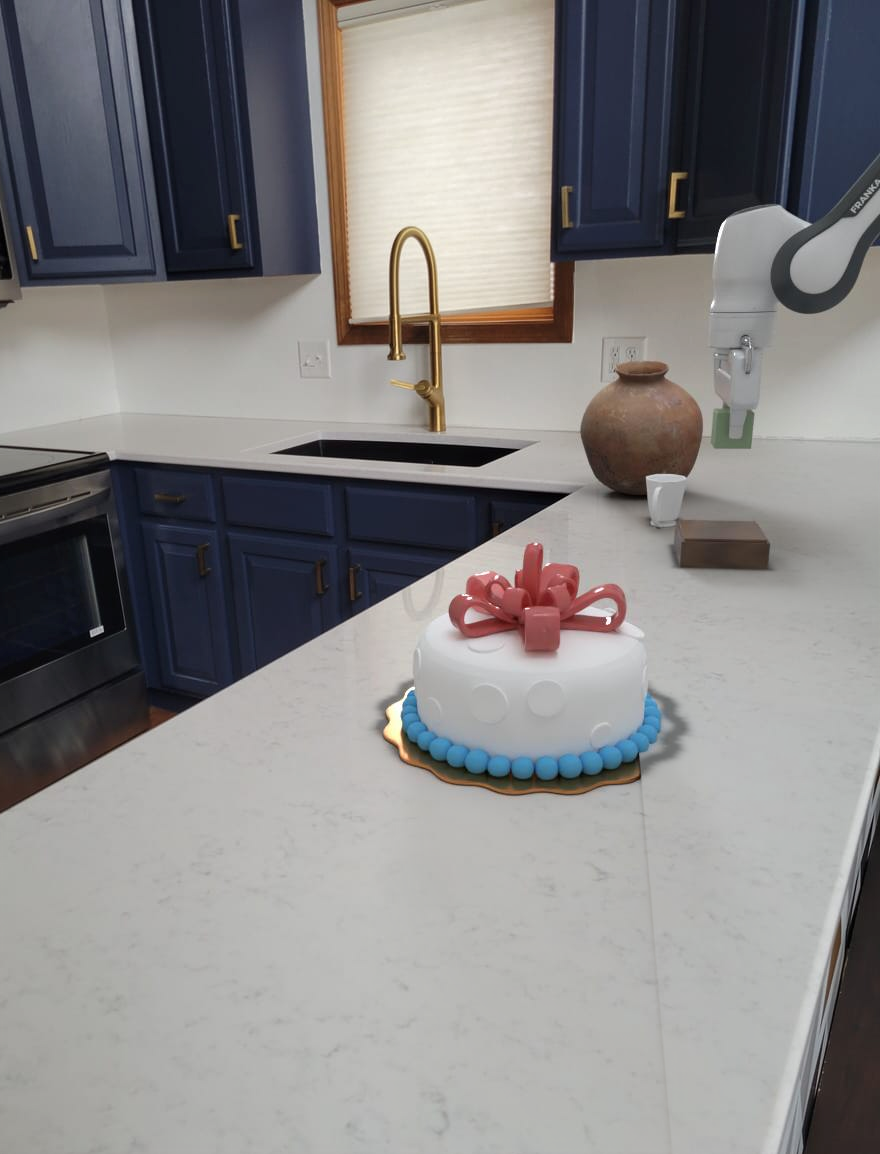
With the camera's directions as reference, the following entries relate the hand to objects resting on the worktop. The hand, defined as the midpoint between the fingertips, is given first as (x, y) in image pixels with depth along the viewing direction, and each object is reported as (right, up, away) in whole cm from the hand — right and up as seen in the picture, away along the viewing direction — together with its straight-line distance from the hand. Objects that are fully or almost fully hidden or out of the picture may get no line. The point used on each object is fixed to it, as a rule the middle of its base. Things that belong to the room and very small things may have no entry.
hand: (731, 434), depth 137 cm
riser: (0, -18, +5) cm, 19 cm away
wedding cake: (-35, -38, -45) cm, 68 cm away
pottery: (-1, -1, +52) cm, 52 cm away
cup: (-3, -10, +26) cm, 28 cm away
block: (0, -2, +1) cm, 2 cm away
